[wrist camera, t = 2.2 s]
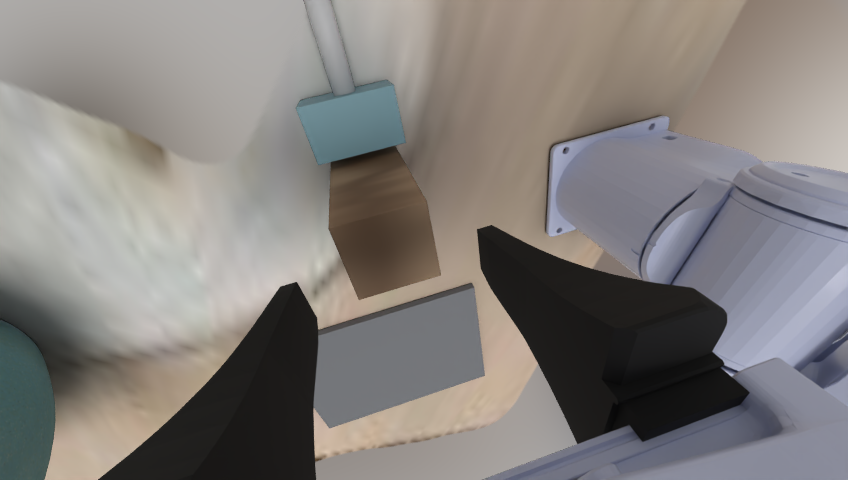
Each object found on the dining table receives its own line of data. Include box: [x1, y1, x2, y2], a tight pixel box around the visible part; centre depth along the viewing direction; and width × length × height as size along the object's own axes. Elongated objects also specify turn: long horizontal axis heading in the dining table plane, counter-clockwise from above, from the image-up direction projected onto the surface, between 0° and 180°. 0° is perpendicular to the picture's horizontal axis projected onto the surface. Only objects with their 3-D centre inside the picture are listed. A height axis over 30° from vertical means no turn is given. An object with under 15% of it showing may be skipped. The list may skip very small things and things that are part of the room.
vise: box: [296, 0, 406, 165], centre depth 18 cm, size 6×17×2 cm, turn 11°
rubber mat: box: [314, 283, 485, 428], centre depth 31 cm, size 18×14×1 cm
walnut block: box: [329, 146, 441, 300], centre depth 17 cm, size 4×4×9 cm
